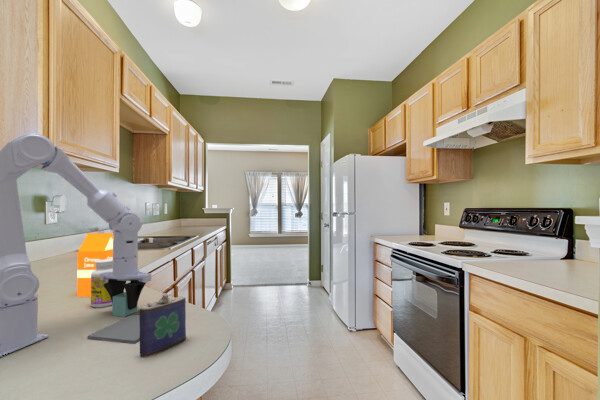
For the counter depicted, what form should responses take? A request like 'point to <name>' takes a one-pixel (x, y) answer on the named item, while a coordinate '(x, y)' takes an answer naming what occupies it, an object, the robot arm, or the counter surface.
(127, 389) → the counter surface
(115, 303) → the teal block
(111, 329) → the mat
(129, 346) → the counter surface
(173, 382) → the counter surface
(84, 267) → the orange juice
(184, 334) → the flask
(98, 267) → the supplement bottle
